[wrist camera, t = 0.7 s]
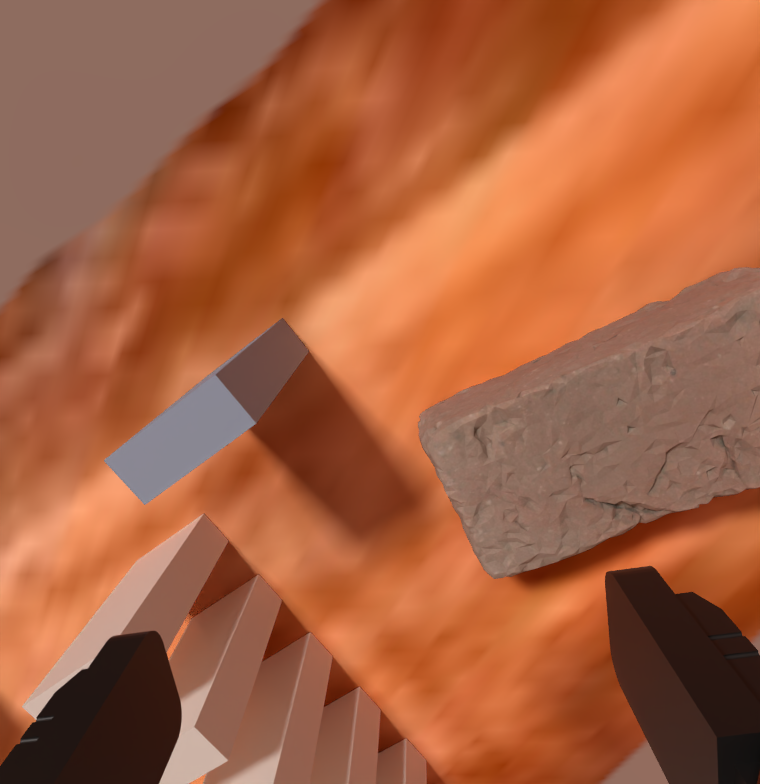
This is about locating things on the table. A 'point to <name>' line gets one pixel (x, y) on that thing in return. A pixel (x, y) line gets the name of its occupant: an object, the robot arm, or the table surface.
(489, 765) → the table surface
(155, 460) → the tile
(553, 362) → the brick
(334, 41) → the table surface
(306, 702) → the tile
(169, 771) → the tile
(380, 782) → the tile
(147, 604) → the tile
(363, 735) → the tile
